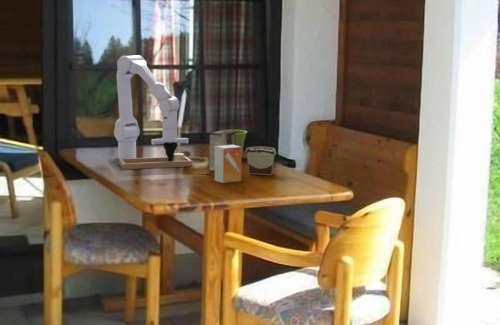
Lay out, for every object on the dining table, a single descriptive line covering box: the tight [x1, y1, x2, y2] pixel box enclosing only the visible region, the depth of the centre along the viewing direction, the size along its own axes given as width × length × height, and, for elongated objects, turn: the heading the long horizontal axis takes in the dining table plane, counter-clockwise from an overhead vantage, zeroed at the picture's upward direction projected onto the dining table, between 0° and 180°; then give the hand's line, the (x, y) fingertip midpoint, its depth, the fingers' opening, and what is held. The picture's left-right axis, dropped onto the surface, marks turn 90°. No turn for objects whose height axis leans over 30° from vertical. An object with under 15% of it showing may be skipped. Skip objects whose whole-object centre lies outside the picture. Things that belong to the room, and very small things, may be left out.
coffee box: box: [208, 129, 236, 175], centre depth 347 cm, size 9×6×16 cm
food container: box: [244, 146, 277, 176], centre depth 348 cm, size 12×6×10 cm, turn 71°
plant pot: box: [226, 129, 248, 158], centre depth 382 cm, size 12×12×11 cm
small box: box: [214, 145, 243, 184], centre depth 332 cm, size 8×6×13 cm
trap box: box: [118, 155, 193, 170], centre depth 357 cm, size 12×27×4 cm, turn 106°
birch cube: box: [173, 152, 186, 161], centre depth 359 cm, size 4×4×4 cm
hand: (170, 161), depth 358 cm, fingers closed
